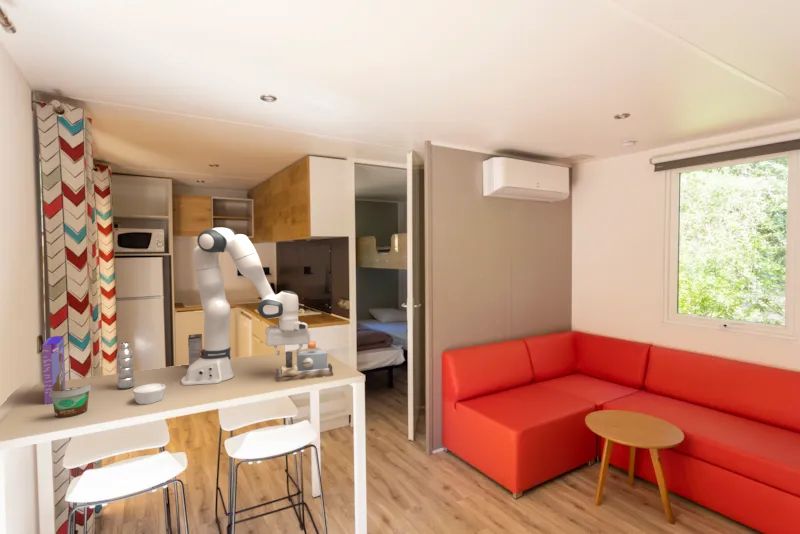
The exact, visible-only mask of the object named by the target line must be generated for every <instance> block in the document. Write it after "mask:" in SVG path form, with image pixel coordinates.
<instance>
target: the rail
mask: <svg viewBox="0 0 800 534" xmlns="http://www.w3.org/2000/svg"><path fill="white" fill-rule="evenodd" d="M331 375H333V376H334V373H333V365H332V364H331V363H327V368H325V369H316V370H306V371H298V373H297V375H294V376H284V377H282V373H280V370H279V368H275V378H276V382H277V383H280V382H281V381H282V382H288V381H289V380H291V381H298V380H297V379H300V380H306V379H305V378H309V379H315V378H314V377H318V378H324V377H323V376H326V377H332V376H331ZM282 382H281V383H282Z"/></svg>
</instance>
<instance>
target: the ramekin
mask: <svg viewBox="0 0 800 534" xmlns="http://www.w3.org/2000/svg"><path fill="white" fill-rule="evenodd" d="M165 390H166V385H165V384H163V383H148V384H142V385H140V386H137V387H135V388H134V389H133V390H132V393H133V394H134V395H133V396H134V399H135V402H136V403H137V404H139V405H150V404H154V403H158V402H159V401H161V400H162V399H164V396H165Z"/></svg>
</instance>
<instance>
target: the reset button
mask: <svg viewBox="0 0 800 534" xmlns="http://www.w3.org/2000/svg"><path fill="white" fill-rule="evenodd" d="M316 343H317V341H315V340H310V343H309V344H307V349H310V350H311V349H316V347H317V345H316Z"/></svg>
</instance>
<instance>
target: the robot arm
mask: <svg viewBox="0 0 800 534" xmlns="http://www.w3.org/2000/svg"><path fill="white" fill-rule="evenodd" d="M196 242H197V246H196V247H194V248H193V249H192V263H193V271H194V274H195V279H196V282H197V286H198V287H197V288H198V292H199V293H198V294H199V296H200V302H201V303H200V304H201V307H202V311H203V313H204V319H203V320H204V325H203V327H204V329H203V346H204V348H202V349H200V351H199V352H200V358H199V359H198V360H196V361H195V362H194V363H193V364H191V365H190V366H189V365H188V367H187V370H186V375H184V376H183V377H181V380H180V382H181V383H180V384H181V385H183V386H190V385H192V386H194V385H212V384H219V383H222V382H224V381H227V380H230V379H232V378H233V377H234V376H235V374H234V371H233V368H232V362H231V358H232V348H231V346H230V345H231V344H230V343H231V342H230V327H231V305H230V303H229V302H228V300H227V296H226V290H225V283H224V278H223V272H222V270H221V269H222V268H221V264H220V259H219V255H220V254H221V253H225V252H227V253H228V254H229V255H230V257H231V260H232V261H233V264H234V266H235V267H236V269H237V271H239V273H240V274H241V275H242V276H243V277H245V278H247V279H249V280H250V281H251V282H252V283H253V284H254V286H255V288H256V290H257V292H258V294H259V296H260V298H261V301H260V302H259V303H258V305H257V311H258V314H259V315H260V317H262V318H263V319H269V320H270V319H274V318H278V325H268V326H267V327H266V328H265V335H266V336H265V337H266V339H265V345H266V346H268V347H273V349H274V350H275V355H276V356H279V355H280V350H278V349H277V348H278V346H292V345H293V346H296V345H298V349H296V355H297V354H300V352H301V350H302V348H303V345H308V344H309V343H310V341H311V333H310V331H309V329H308V328H309V325H308V323H306V322H303V321H300V320H299V315H298V314H299V310H300V309H299V307H300V306H299V296H298V294H297V293H296V292H295V291H291V290H281V291H280V292H279V293H277V294H276V293H275V291H274V290H273V288H272V286H271V285H270V282H269V281H268V279H267V276H266V274H265V271H264V268H263V264H262V261H261V259H260V256H259V254H258V252H257V249H256V248H255V246H254V245H253V243H252V241H251V240H250V238H249V237H248V236H247V235H246V234H242V233H237V232H236V231H235V230H234V229H232V228H231V227H227V226H226V227H225V226H222V227H213V228H206V229H205V230H203V231H201V232H200V233H199V234H198V236H197V241H196Z"/></svg>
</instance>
